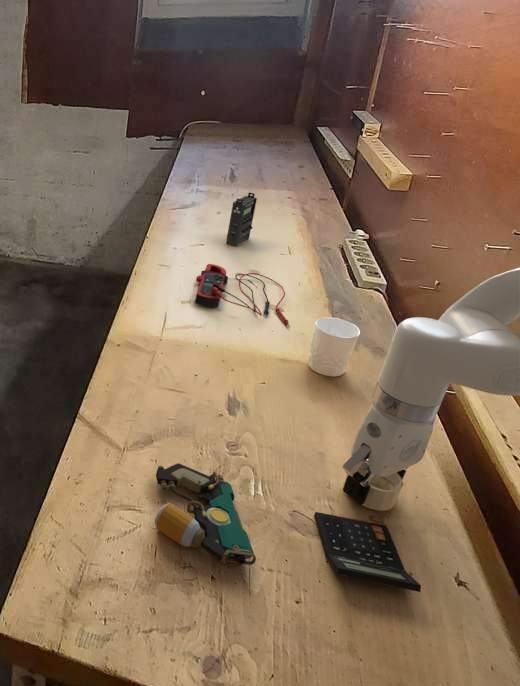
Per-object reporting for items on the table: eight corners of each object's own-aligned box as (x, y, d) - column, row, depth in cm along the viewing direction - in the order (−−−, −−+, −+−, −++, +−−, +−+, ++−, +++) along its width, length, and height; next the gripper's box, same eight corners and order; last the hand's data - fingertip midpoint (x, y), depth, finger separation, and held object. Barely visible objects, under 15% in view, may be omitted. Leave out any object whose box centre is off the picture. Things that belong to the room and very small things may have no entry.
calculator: (384, 529, 83) (390, 515, 81) (414, 603, 73) (422, 588, 72) (314, 515, 85) (318, 501, 84) (333, 585, 75) (339, 570, 74)
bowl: (363, 473, 92) (371, 453, 90) (404, 504, 87) (413, 483, 85) (333, 486, 90) (340, 465, 88) (373, 518, 85) (381, 497, 83)
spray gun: (157, 467, 96) (253, 498, 90) (140, 541, 82) (251, 583, 76) (161, 448, 94) (259, 477, 88) (144, 520, 80) (259, 561, 74)
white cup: (342, 359, 121) (354, 319, 116) (351, 381, 114) (365, 340, 109) (301, 354, 123) (311, 314, 118) (308, 375, 116) (319, 334, 112)
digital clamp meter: (188, 293, 140) (203, 255, 159) (186, 309, 142) (201, 269, 161) (293, 312, 130) (295, 269, 149) (289, 329, 132) (292, 284, 151)
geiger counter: (237, 248, 174) (246, 202, 167) (223, 244, 177) (231, 199, 170) (252, 238, 180) (262, 194, 173) (239, 235, 183) (247, 191, 176)
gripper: (388, 433, 74) (352, 527, 82) (473, 400, 80) (432, 490, 88) (337, 400, 81) (308, 489, 88) (419, 371, 86) (385, 458, 94)
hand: (370, 489), depth 88 cm, fingers closed on bowl, 6 cm apart
